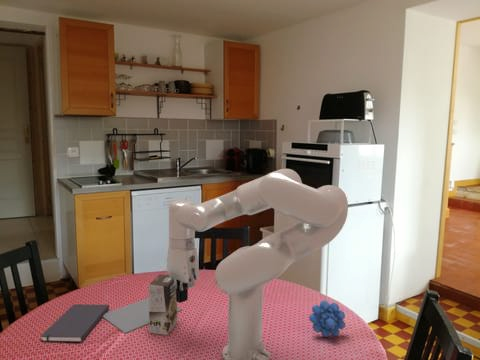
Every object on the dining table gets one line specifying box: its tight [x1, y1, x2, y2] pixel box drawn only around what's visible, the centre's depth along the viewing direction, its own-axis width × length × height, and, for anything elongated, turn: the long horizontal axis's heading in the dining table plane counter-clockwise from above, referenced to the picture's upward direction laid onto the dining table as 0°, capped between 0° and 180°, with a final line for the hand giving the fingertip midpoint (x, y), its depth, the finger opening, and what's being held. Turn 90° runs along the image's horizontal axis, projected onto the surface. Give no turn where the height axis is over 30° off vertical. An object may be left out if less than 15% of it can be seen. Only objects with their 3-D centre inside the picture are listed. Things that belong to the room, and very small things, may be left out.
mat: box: [102, 297, 183, 334], centre depth 137 cm, size 16×22×1 cm
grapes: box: [308, 300, 346, 338], centre depth 122 cm, size 12×7×12 cm, turn 96°
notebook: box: [40, 303, 110, 343], centre depth 128 cm, size 13×2×21 cm
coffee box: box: [148, 273, 179, 336], centre depth 127 cm, size 9×6×16 cm
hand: (181, 300), depth 120 cm, fingers closed
